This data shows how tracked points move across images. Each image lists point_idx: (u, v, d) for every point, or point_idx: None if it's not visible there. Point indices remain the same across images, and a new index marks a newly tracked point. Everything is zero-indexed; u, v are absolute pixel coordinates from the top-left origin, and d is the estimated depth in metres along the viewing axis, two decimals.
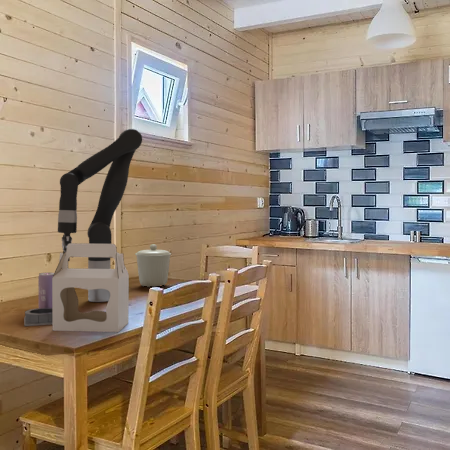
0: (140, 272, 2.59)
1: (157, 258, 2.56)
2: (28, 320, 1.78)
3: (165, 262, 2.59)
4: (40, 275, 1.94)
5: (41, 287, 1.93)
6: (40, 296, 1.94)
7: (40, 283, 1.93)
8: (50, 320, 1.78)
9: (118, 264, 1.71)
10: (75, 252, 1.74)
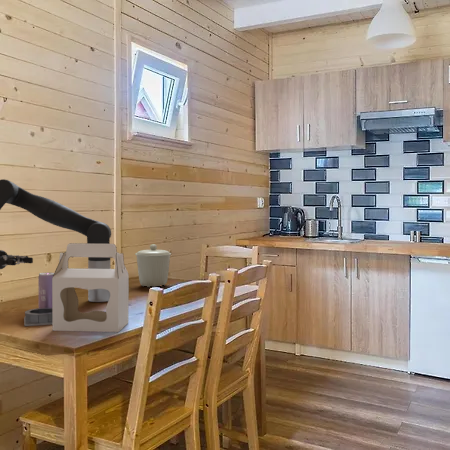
0: (140, 272, 2.59)
1: (157, 258, 2.56)
2: (28, 320, 1.78)
3: (165, 262, 2.59)
4: (40, 275, 1.94)
5: (41, 287, 1.93)
6: (40, 296, 1.94)
7: (40, 283, 1.93)
8: (50, 320, 1.78)
9: (118, 264, 1.71)
10: (75, 252, 1.74)
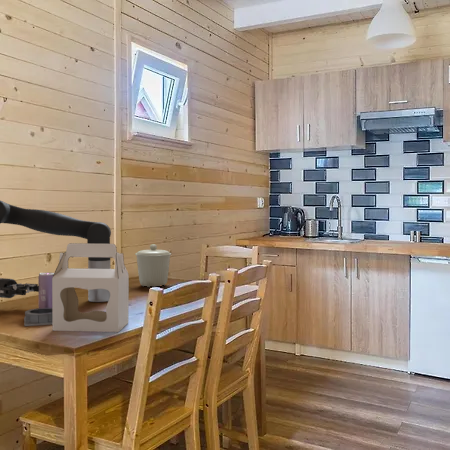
0: (140, 272, 2.59)
1: (157, 258, 2.56)
2: (28, 320, 1.78)
3: (165, 262, 2.59)
4: (40, 275, 1.94)
5: (41, 287, 1.93)
6: (40, 296, 1.94)
7: (40, 283, 1.93)
8: (50, 320, 1.78)
9: (118, 264, 1.71)
10: (75, 252, 1.74)
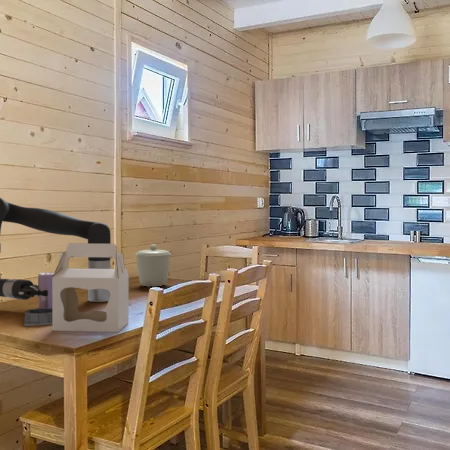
0: (140, 272, 2.59)
1: (157, 258, 2.56)
2: (28, 320, 1.78)
3: (165, 262, 2.59)
4: (40, 275, 1.93)
5: (41, 287, 1.93)
6: (39, 296, 1.94)
7: (40, 283, 1.93)
8: (50, 320, 1.78)
9: (118, 264, 1.71)
10: (75, 252, 1.74)
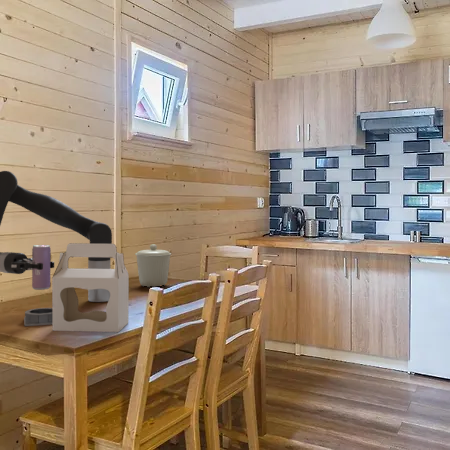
0: (140, 272, 2.59)
1: (157, 258, 2.56)
2: (28, 320, 1.78)
3: (165, 262, 2.59)
4: (34, 247, 1.79)
5: (35, 260, 1.79)
6: (33, 270, 1.79)
7: (34, 256, 1.79)
8: (50, 320, 1.78)
9: (118, 264, 1.71)
10: (75, 252, 1.74)
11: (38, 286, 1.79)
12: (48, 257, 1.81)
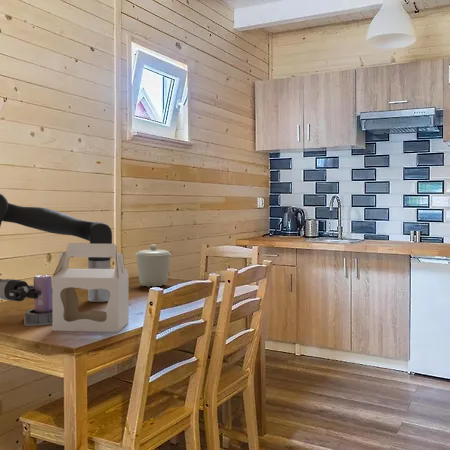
0: (140, 272, 2.59)
1: (157, 258, 2.56)
2: (28, 320, 1.78)
3: (165, 262, 2.59)
4: (36, 278, 1.81)
5: (37, 291, 1.81)
6: (36, 301, 1.81)
7: (36, 286, 1.81)
8: (50, 320, 1.78)
9: (118, 264, 1.71)
10: (75, 252, 1.74)
11: None
12: (50, 287, 1.83)
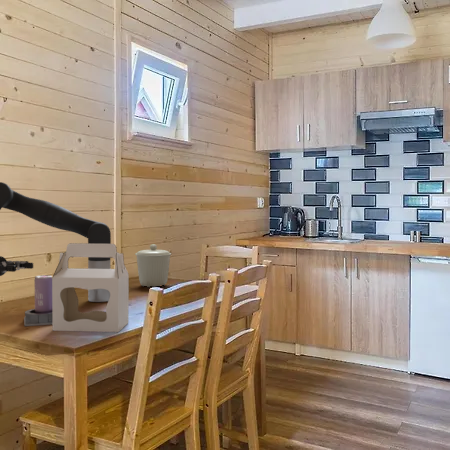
0: (140, 272, 2.59)
1: (157, 258, 2.56)
2: (28, 320, 1.78)
3: (165, 262, 2.59)
4: (37, 278, 1.81)
5: (38, 291, 1.81)
6: (36, 301, 1.81)
7: (37, 287, 1.81)
8: (50, 320, 1.78)
9: (118, 264, 1.71)
10: (75, 252, 1.74)
11: None
12: (50, 288, 1.83)
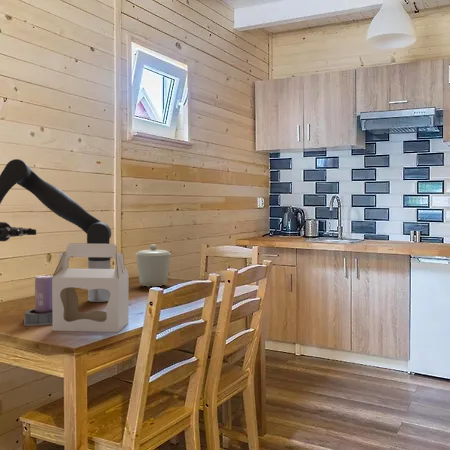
0: (140, 272, 2.59)
1: (157, 258, 2.56)
2: (28, 320, 1.78)
3: (165, 262, 2.59)
4: (37, 278, 1.81)
5: (38, 291, 1.81)
6: (37, 301, 1.81)
7: (37, 287, 1.81)
8: (50, 320, 1.78)
9: (118, 264, 1.71)
10: (75, 252, 1.74)
11: None
12: (51, 288, 1.83)
